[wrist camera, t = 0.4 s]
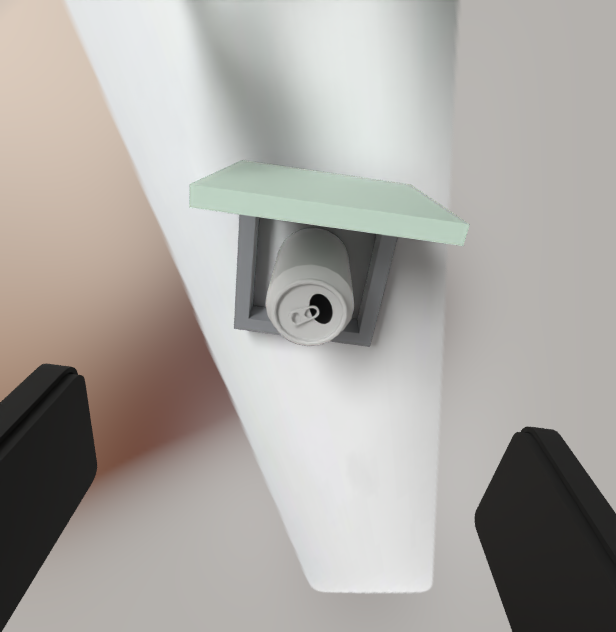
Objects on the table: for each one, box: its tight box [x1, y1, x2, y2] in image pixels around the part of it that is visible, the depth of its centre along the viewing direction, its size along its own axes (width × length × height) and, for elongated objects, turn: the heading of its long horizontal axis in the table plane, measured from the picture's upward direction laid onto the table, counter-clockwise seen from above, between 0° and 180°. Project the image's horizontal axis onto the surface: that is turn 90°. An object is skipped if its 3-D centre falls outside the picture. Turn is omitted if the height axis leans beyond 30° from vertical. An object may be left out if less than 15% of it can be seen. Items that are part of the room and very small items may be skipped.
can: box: [265, 228, 354, 346], centre depth 38 cm, size 8×8×12 cm
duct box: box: [234, 215, 398, 347], centre depth 42 cm, size 16×15×3 cm
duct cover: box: [189, 160, 469, 246], centre depth 29 cm, size 16×15×1 cm
